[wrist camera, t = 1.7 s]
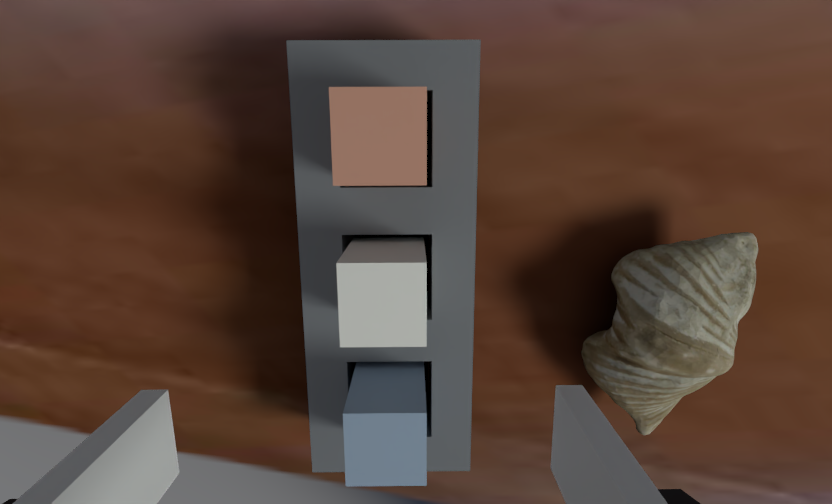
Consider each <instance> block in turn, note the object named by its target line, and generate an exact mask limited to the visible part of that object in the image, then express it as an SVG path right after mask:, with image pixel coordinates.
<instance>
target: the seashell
mask: <svg viewBox="0 0 832 504" xmlns="http://www.w3.org/2000/svg"><path fill="white" fill-rule="evenodd" d="M757 253H758V244H757V239H756V237H755V236H754V234H752V233H748V232H743V233H730V234H721V235H717V236H713V237H709V238H704V239H699V240H694V241H680V242H676V243H672V244H662V245H656V246H654V247H652V248H649V249H639V250H636V251H633V252H632V253H630V254H628V255H626V256H624V257H623V258H622V259H621V260H620V261H619V262H618V263H617V264H616V266H615V267H614V269H613V271H612V275H611V281H612V284H613V285H614V287H615V289H616V293H617V307H616V312H615V314H614V317H613V321H612V327H611V328H610V329H609V330H604V331H600V332H597V333H595V334H593V335H592V336H590V337H588V338H587V339H586V340H585V341H584V342H583V347H582V351H581V355H582V358H583V362H584V366H585V368H586V370H587V373H588V374H589V375H590V376H591V377H592V379H593V380H594V381H595V383H596V384H597V385H598V386H599V387H600V388H601V389H602V390H603V391H604V392H606V393H607V394H608V395H609V396H610V397H611V398H612V399H613V401H614V402H615V403H616V404H618V405H619V406H620V407H622V408H623V409H624V410H626V411H627V412H628V413H629V414H630V415H631V417H632V418H633V419H634V421H635V423H636V429H637V431H638V432H639V433H640V434H643V435H647V434H650V433H651V432H652V431H653V430H654V429H655V428H656V427H657V426H658V425H659V424H660V422H661V421H662V420H663V418H664V417H665V416H666V415H667V414H668V413H669V412H670V411H671V410H672V408H673V407H674V406H675V405H676V404H677V403H678V402H679V400H680V399H681V398H682V397H683V396H685V395H687V394H690V393H692V392H694V391H696V390H698V389H700V388H701V387H703V386H704V385H706V384H707V383H709V382H710V381H711V380H712V379H714V378H715V377H716V376H718V375H721V374H723V373H725V372H727V371H728V370H729V369H730V368H731V367H732V365H733V361H734V348H735V345H736V341H737V329H738V322H739V320H740V319H741V318H742V317H743V316H744V315H745V314H746V313H747V311H748V309H749V307H750V305H751V301H752V297H753V293H754V289H755V283H756V266H755V260H756V257H757Z"/></svg>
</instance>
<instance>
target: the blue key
mask: <svg viewBox="0 0 832 504" xmlns="http://www.w3.org/2000/svg"><path fill="white" fill-rule="evenodd" d="M343 431H344V455H345V478H346V486H427V411H426V392H425V373H424V361H400V362H356V366H355V370H354V373H353V377H352V381H351V385H350V388H349V392H348V396H347V400H346V403H345V407H344V411H343Z"/></svg>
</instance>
